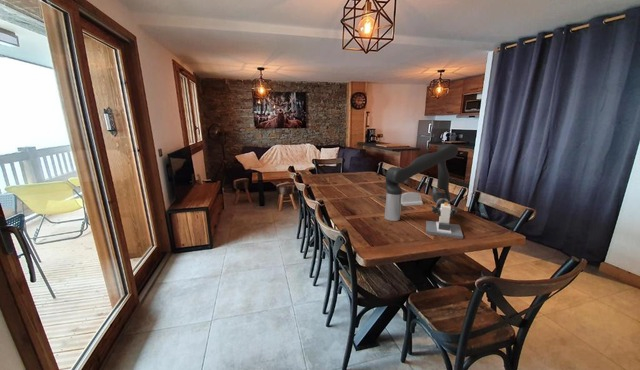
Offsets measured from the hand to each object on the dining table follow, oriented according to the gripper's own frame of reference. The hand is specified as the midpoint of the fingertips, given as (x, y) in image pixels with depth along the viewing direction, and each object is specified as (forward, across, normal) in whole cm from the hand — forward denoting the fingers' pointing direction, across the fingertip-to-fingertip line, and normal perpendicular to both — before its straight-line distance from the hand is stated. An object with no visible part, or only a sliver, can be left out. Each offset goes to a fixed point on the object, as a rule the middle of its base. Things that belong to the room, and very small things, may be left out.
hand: (445, 215), depth 139 cm
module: (-3, 0, +7) cm, 8 cm away
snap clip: (+2, 0, +7) cm, 8 cm away
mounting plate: (-1, 0, +10) cm, 10 cm away
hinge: (-44, -20, +10) cm, 50 cm away
